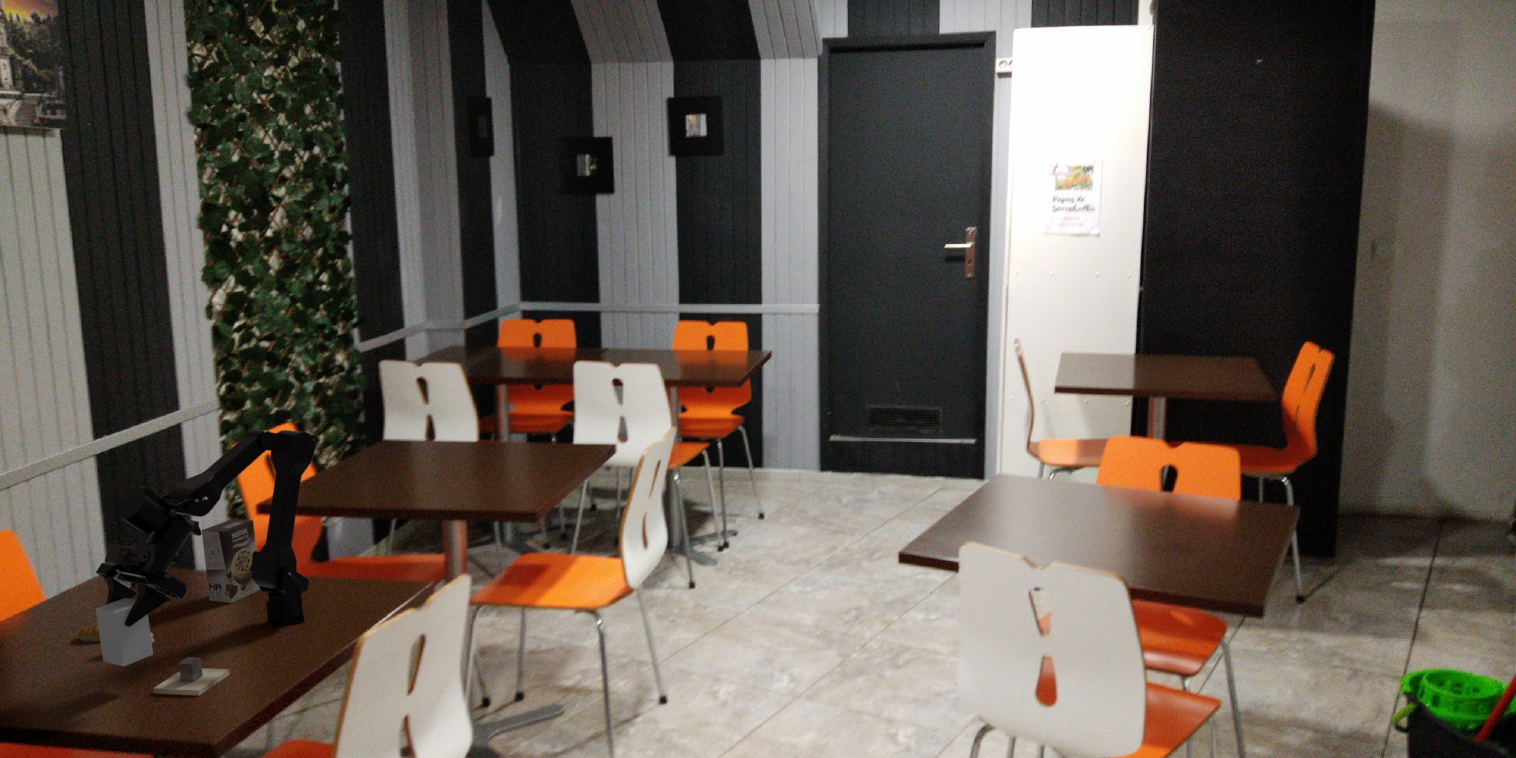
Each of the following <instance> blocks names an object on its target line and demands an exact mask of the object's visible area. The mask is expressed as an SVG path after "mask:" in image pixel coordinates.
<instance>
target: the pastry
mask: <svg viewBox="0 0 1516 758" xmlns="http://www.w3.org/2000/svg"><path fill="white" fill-rule="evenodd" d="M76 635H77V637H78V639H79V640H80V641H82V642H85V643H86V642H100V635H99V629H98V622H97V621H96V622H93V623H92V624H90V625H87V626H84V627H83V628H82V629H80V631H78V632H77V634H76Z"/></svg>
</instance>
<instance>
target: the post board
mask: <svg viewBox="0 0 1516 758" xmlns="http://www.w3.org/2000/svg"><path fill="white" fill-rule="evenodd" d="M201 660H202V659H201V657H189V656H188V657H186V658H185V659H183V660H181V661H179V662H178V670H179V671H178V672H176V673H175V674H173V675H172V676H170V677H168V678H167V679H166V680H164V681H162V682H161V683H159V684H158V685H156V686H155V687H153V688H152V689H153V694H157V695H177V696H178V695H179V696H198V697H199V696H201V695H202V694H203V693H204V694H205V692H207V691H208V690H210V689H211V688H212V687H214V686H215V685H217V684H218V683H220V682H221V681H222V680H224V679H225V678H226V677H228V676H230V669H229V668H226V669H225V668H209V667H208V668H203V667H202V661H201ZM216 683H217V684H216Z"/></svg>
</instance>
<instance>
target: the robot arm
mask: <svg viewBox="0 0 1516 758" xmlns="http://www.w3.org/2000/svg"><path fill="white" fill-rule="evenodd" d="M315 450H316V440H315V439H314V438H313V436H312V435H311V433H309V432H307V431H299V430H298V431H297V430H288V429H282V430H279V431H278V432H272V431H270V430H266V429H258V428H257V429H255V428H254V429H250V430H249V431H246V433H245V434H244V436H243V437H242V438H241V439H240V440H239V441H238V442H236V443H235V445H233V446H232V447H231V448H230V449H228V450H227V451H226V452H225V453H224V454H223V455H222V456H220V457H219V458H218V459H217V460H216V461H215V462H213V463H212V464H211V465H210V466H209V467H208V468H207V469H206V470H204V471H203V472H200V473H198V474H196V475H193V476H190V477H188V478H186V479H184V480H183V481H181V482H180V483H177V484H176V485H175V486H173V488H172V489H171V490H170V491H169V493H168V492H167V493H166V494H164V495H161V496H159V495H157V494H156V493H155V491H153V490H152V489H151V488H149V487H145V486H140V487H139V489H138V490H137V492H134V493H132V494H130V495H129V496H128V497H127V498H126V499H124V500H123V501H122V502H121V503H120V504H119V507H118V510H117V516H118V518H120V519H121V520H122V521H124V522H126V523H127V524H129V525H130V526H131V527H133V528H135V529H136V530H138V531H140V532H141V533H143V534H150V535H149V538H148V539H147V540H146V541H145V542H143V541H140V542H138V543H137V542H133V543H132V545H131V546H129V547H128V546H124V545H116V544H110V543H109V544H108V547H107V550H106V554H105V558H104V562H102V563H100V565H99V567H98V568H97V569H96V571H95V574H96V575H98V576H100V577H101V578H103V580H104V581H105V582H106V586H107V588H108V591H107V592H108V593H107V599H106V603H105V605H107V604H110V603H112V602H115V601H118V600H121V599H123V598H129V599H134V597H135V595H136V594H137V597H136V599H135V600H136V601H135V603H134V605H133V607H132V609H131V610H130V612H129V614H128V616H127V619H126V621H125V625H126V626H128V627H130V626H132V625H133V624H135V623H136V622H137V621H139V620H140V619H142V618H143V617H144V616H146V615H147V614H148V615H149V614H150V613H151V612H154V610H156V609H158V608H159V607H161V606H162V605H164V604H166V603H167V602H169V603H170V602H171V601H172V598H173V599H174V600H175V599H176V600H180V601H183V600H184V599H185V597H186V595H187V593H188V591H189V588H188V583H186V582H185V581H183V580H181V579H180V578H179V577H176V576H175V575H173V573H170V572H168V570H169V568H170V567H171V565H172V564H176V565H178V564H179V561H180V560H181V559H180V557H179V558H178V557H177V556H178V554H179V552H180V551H181V549H182V548H183V545H184V544H185V542H186V541H187V539H188V538H189V535H190V536H191V535H192V536H197V537H200V536H201V537H202V529H201V527H200V522H199V521H197V520H191V519H190V520H189V519H187V518H186V517H184V516H183V515H185V516H191V517H200V518H201V517H205V516H206V515H208V514H209V513H211V511H212V510H213V508H214V507H215V506H216V505H217V504H218V502H219V501H220V500H221V497H222V494H223V491H224V490H225V488H226V487H227V486H228V485H229V484H231V483H232V482H233V481H234V480H235V479H237V477H238V476H239V475H241V474H242V473H243V472H244V471H246V469H248V467H250V465H252V464H253V463H254V462H255V461H256V460H258V458H259V457H261V456H262V455H263V454H264V453H265V452H266V451H269V452H270V461H271V463H272V465H273V468H274V471H275V479H274V485H273V491H272V498H271V505H270V511H269V513H270V514H269V518H268V525H267V530H266V531H267V532H266V538H265V543H264V545H263V546H262V547H261V548H260V550H259V551H258V550H256V551H254V552H253V554H252V565H251V567H250V570H249V571H252V580H254V582H255V583H256V584H257V585H258V586H259V588H260V590H259V591H260V592H262V593H267V595H268V598H266V599H265V606H266V616H267V621H268V622H269V623H270V627H271V628H274V627H280V626H287V625H292V624H297V623H298V624H299V623H303V622H305V621H306V620H305V619H306V617H305V609H304V608H303V607H304V606H303V598H302V595H303V593H304V592H306V591H308V589H309V585H310V584H309V583H310V580H309V579H308V578H307V577H305V575H303V574H301V573H300V572H298V569H297V565H298V564H297V561H298V560H297V557H296V554H295V551H294V549H293V539H294V538H293V536H294V532H295V531H294V530H295V529H294V528H295V522H296V517H297V516H296V515H297V510H298V509H297V508H298V502H299V497H300V496H299V495H300V490H301V489H300V488H301V481H302V477H303V474H304V473H305V472H306V471H307V469H308V467H309V466H310V465H311V463H312V461H313V456H314V453H315ZM171 512H173V513H175V515H174V514H172V513H171ZM136 585H137V591H135V590H133V589H132V588H134V587H135V586H136ZM137 592H138V593H137ZM170 597H171V598H170Z"/></svg>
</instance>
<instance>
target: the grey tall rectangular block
mask: <svg viewBox="0 0 1516 758" xmlns="http://www.w3.org/2000/svg"><path fill="white" fill-rule="evenodd" d="M135 601H136V599H134V598H132V599H129V598H123V599H121V600H118V601H115V602H112V603H110V604H107V605H106V604H105V605H102V606H98V607H96V608H95V613H96V614H95V615H96V619H97V621H96V622H98V629H99V635H100V641H99V642H100V649H101V654H102V655H101V656H102V661H103V663H108V664H112V665H115V666H116V665H117V666H121V667H126V666H129V665H131V664H134V663H136V662H138V661H141V660H143V659H146V658H148V657H150V656H153V655H154V650H153V644H152V641H151V634H150V632H151V628H150V620H149V614H147V615H146V616H144V617H143V618H142V619H140V620H139V621H137V622H136V623H135V624H133V625H132V626H130V627H128V626H126V625H125V621H126V619H127V616H128V614H129V612H130V610H131V609H132V607H133V605H134V603H135Z"/></svg>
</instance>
